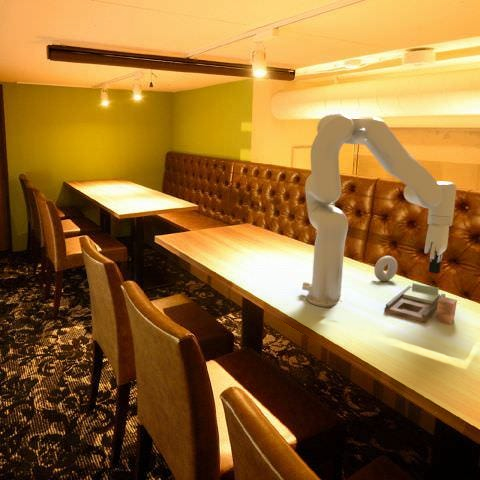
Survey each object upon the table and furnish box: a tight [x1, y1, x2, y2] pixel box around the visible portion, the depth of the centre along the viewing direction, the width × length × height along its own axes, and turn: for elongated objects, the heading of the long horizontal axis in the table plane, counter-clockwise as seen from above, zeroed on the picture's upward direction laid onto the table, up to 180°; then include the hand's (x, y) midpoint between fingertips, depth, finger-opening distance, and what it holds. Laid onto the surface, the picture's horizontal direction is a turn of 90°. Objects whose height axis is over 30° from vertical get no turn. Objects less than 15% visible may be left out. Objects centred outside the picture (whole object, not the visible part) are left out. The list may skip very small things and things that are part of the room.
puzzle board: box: [383, 285, 446, 324], centre depth 139 cm, size 12×22×4 cm, turn 141°
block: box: [435, 296, 458, 326], centre depth 128 cm, size 4×4×8 cm
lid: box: [403, 282, 441, 304], centre depth 142 cm, size 9×8×3 cm
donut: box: [373, 255, 398, 282], centre depth 165 cm, size 10×4×10 cm, turn 113°
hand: (434, 272), depth 148 cm, fingers closed
